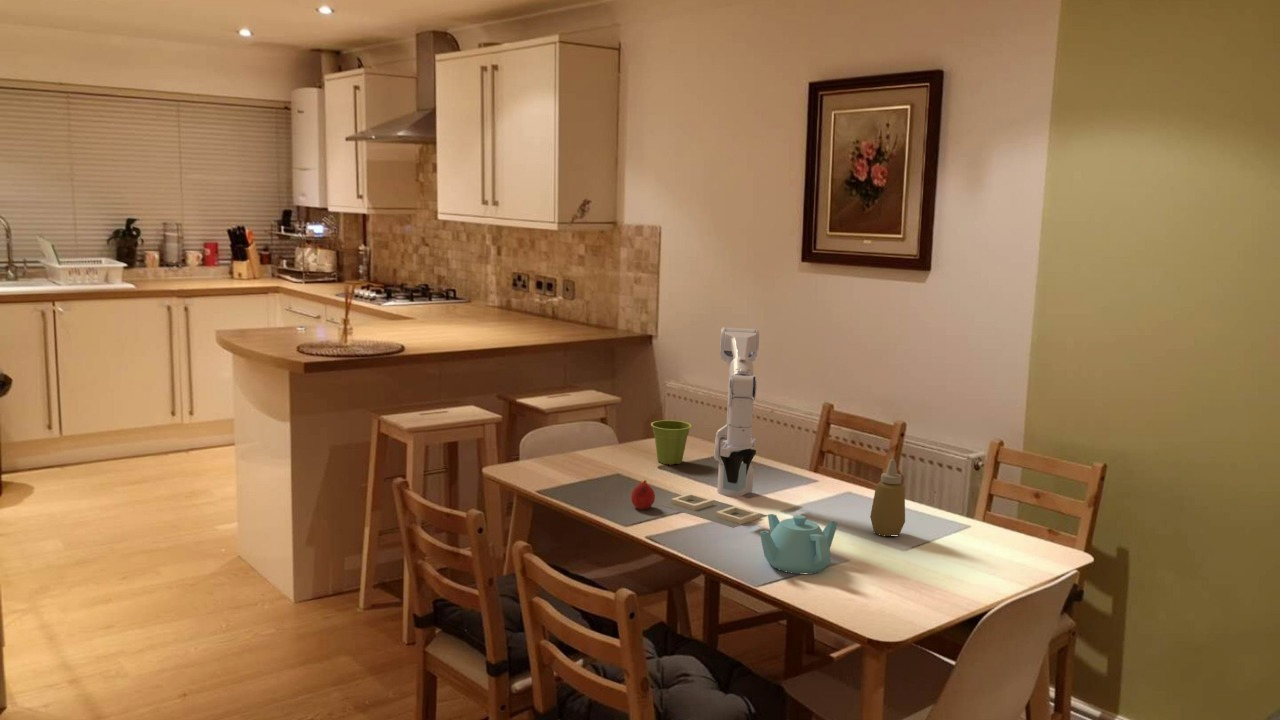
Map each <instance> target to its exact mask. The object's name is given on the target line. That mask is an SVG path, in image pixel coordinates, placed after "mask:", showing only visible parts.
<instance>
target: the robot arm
mask: <svg viewBox="0 0 1280 720" xmlns="http://www.w3.org/2000/svg"><path fill="white" fill-rule="evenodd" d="M719 338H720V341H719V343H720V345H719V352H720V353H719V355H720V359H721V360H723V361H724V362H726V363H727V367H728V383H727V406H726V407H727V408H726V409H727V410H726V412H727V413H726V424H725V425H724V426H722V427H720V428H719V429H718V430H716V432H715V439H714V451H713V452H714V453H713V454H714V455H713V457H714V460H715V461H716V462H718V472H717V473H718V474H717V487H716V488H717V491H716V493H717V494H719V495H722V496H725V497H734V498H735V497H742V496H744V495H746V494H749V493H751V494H755V492H753V488H754V486H753V484H754V467H753V466H752V464H751V463H752V461H753V459H754V457H755V455H756V454H757V450H756V449H754V448H755V447H757V446H756V444H757V439H756V438H754V435H753V433H752V431H753V416H754V412H753V411H754V401H755V400H756V396H757V388H758V383H757V382H758V381H757V376H756V374H754V363H753V362H755V361H756V357H757V356H758V351H759V346H760V345H759V344H760V331H759V329H758V328H741V327H740V328H738V327H737V328H736V327H726V326H723V327H721V330H720V337H719ZM742 461H743V463H745V464H747V466H746V488H744V489H742V490H740V491H733V490H728V489H723V476H724V466H725V470H726V475H727V480H728V482H730V483H737V480H738V475H739V469H740V466H741V463H742Z"/></svg>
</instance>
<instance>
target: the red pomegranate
mask: <svg viewBox="0 0 1280 720" xmlns="http://www.w3.org/2000/svg"><path fill="white" fill-rule="evenodd" d="M630 498H631V503H632V505H633V507H635V508H636V509H637V510H642V511H643V510H644V511H645V510H648V509H649V508H650V507H652V506H653V504H654V502H655V501H656V500H655V499H656V494H655V491H654V489H653V488H652V487H651V486H650V485H649V484H648V482H647V480H646V479H643V480H641V482H640V483H639V484H638V485H636V486H635V487H634V488H633V489H632V491H631V494H630Z"/></svg>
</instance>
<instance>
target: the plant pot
mask: <svg viewBox="0 0 1280 720" xmlns="http://www.w3.org/2000/svg"><path fill="white" fill-rule="evenodd" d="M650 426H651V427H652V431H653V434H654V440H655V450H656V458H657V462H659V463H660V464H662V463H663V464H662V465H668V464H669V466H670V465H675V464H677V465H680V464H682V463H683V458H684V453H685V449H686V444H687V439H688V435H689V432H690V429H691V428H692V424H691V423H690V422H687V421H682V420H673V419H672V420H670V419H666V420H664V419H663V420H656V421H653V422H651V423H650Z"/></svg>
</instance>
